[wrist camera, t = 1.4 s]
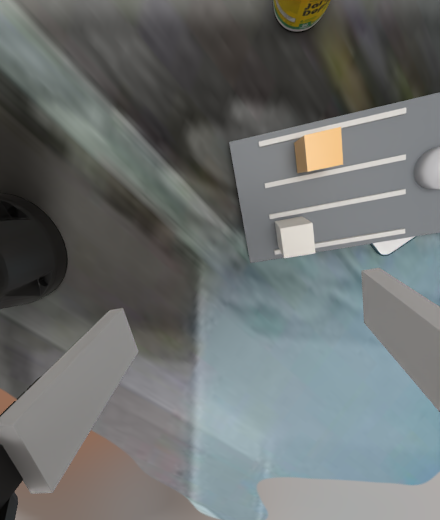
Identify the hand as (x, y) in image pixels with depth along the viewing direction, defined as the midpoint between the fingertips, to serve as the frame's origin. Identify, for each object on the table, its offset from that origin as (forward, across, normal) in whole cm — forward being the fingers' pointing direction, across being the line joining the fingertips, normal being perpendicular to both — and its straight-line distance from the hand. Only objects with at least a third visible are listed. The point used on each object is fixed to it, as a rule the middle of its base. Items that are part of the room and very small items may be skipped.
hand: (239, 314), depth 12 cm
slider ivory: (+17, +5, 0) cm, 18 cm away
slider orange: (+17, +9, +7) cm, 21 cm away
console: (+20, +12, +3) cm, 24 cm away
